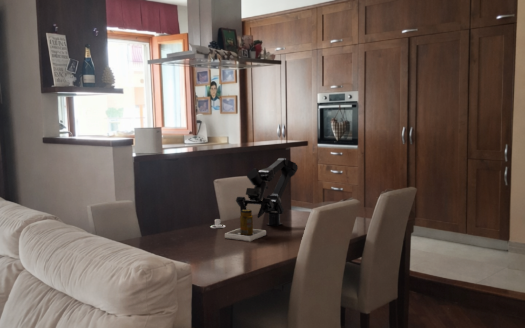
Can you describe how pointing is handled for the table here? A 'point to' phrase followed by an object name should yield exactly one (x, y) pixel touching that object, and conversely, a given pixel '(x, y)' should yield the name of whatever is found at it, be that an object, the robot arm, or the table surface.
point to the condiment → (246, 223)
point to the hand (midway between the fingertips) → (249, 216)
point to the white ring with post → (217, 224)
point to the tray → (236, 236)
